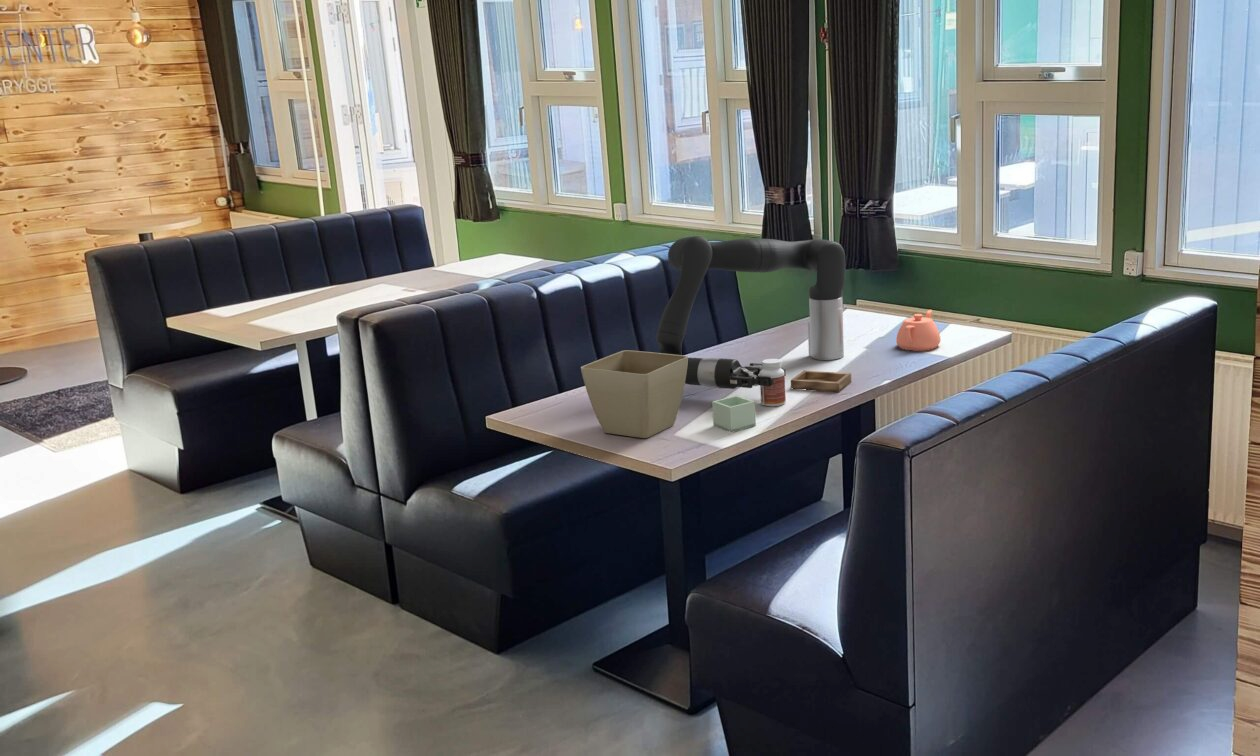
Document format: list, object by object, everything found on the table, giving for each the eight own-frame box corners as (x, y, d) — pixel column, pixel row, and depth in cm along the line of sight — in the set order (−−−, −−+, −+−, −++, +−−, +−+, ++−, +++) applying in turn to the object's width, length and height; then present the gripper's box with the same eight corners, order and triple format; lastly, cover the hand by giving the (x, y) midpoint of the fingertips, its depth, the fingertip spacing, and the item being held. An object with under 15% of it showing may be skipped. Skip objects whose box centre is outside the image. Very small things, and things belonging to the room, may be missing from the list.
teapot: (886, 351, 350) (886, 319, 347) (912, 337, 364) (912, 306, 361) (927, 355, 343) (926, 322, 340) (951, 340, 357) (951, 308, 354)
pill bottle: (790, 403, 306) (789, 360, 303) (771, 408, 303) (770, 365, 300) (774, 398, 311) (773, 356, 308) (755, 403, 308) (754, 361, 305)
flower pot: (629, 413, 307) (624, 348, 303) (693, 422, 296) (690, 355, 292) (583, 435, 292) (578, 367, 288) (650, 445, 282) (645, 374, 277)
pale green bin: (713, 425, 293) (712, 401, 291) (737, 419, 296) (736, 395, 295) (731, 432, 287) (730, 407, 285) (755, 425, 290) (754, 401, 289)
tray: (790, 389, 319) (790, 380, 318) (804, 379, 327) (804, 370, 327) (838, 392, 313) (838, 383, 312) (851, 382, 321) (851, 373, 320)
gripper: (706, 365, 305) (767, 369, 298) (729, 352, 317) (788, 355, 310) (708, 394, 307) (768, 399, 300) (731, 380, 319) (789, 384, 312)
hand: (778, 377), depth 305 cm, fingers open, 8 cm apart
